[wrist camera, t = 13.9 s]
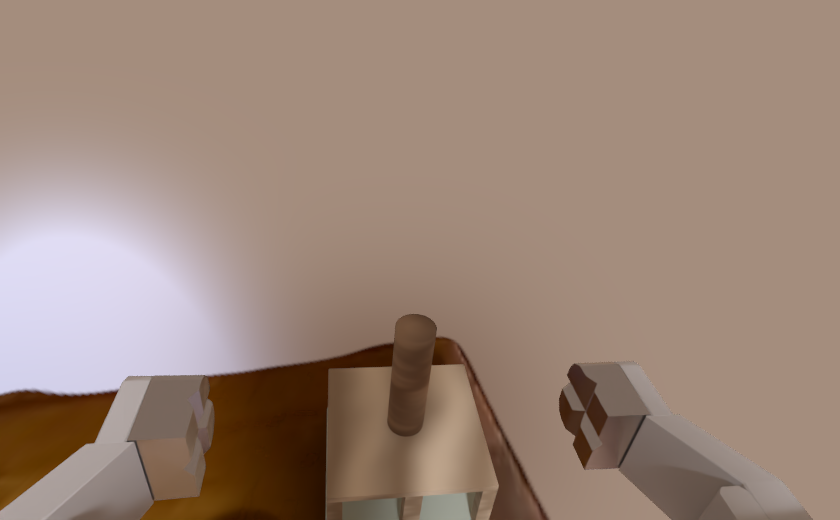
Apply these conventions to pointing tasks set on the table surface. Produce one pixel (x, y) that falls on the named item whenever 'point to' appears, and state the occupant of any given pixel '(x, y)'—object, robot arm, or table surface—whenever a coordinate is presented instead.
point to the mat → (439, 513)
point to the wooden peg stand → (406, 430)
